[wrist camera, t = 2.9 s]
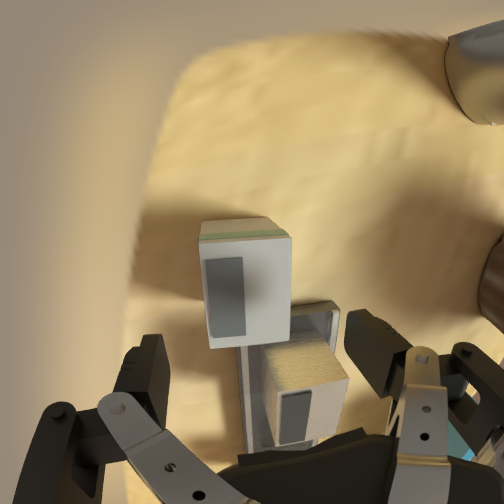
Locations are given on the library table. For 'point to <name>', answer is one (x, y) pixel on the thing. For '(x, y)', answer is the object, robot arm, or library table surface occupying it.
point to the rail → (293, 383)
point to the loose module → (245, 281)
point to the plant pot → (493, 287)
